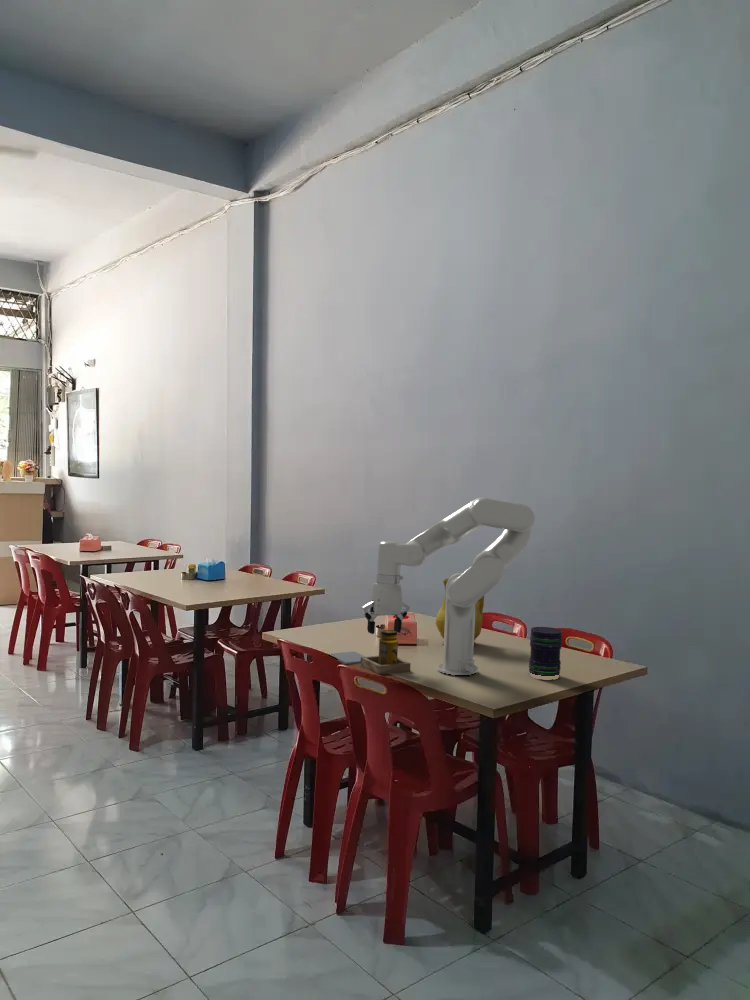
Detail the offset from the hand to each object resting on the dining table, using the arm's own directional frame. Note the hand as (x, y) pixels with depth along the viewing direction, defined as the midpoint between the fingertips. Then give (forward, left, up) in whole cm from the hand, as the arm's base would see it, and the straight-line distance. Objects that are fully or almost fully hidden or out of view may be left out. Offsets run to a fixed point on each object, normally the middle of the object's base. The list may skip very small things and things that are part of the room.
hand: (384, 632), depth 248 cm
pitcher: (+21, -45, -12) cm, 50 cm away
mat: (+15, +4, -12) cm, 19 cm away
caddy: (0, -1, -12) cm, 11 cm away
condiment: (0, -1, -12) cm, 12 cm away
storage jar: (-27, -44, -12) cm, 53 cm away
